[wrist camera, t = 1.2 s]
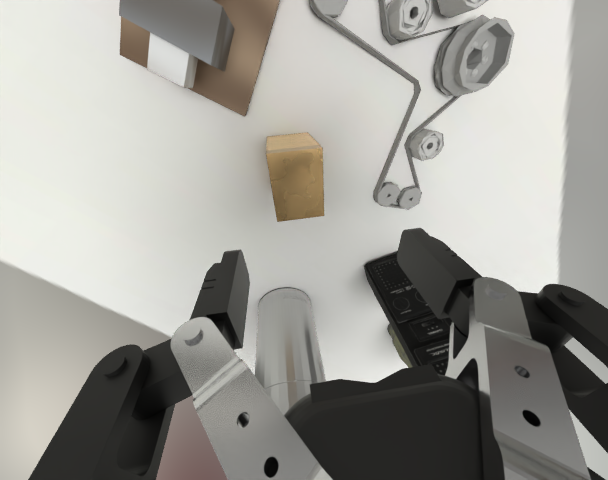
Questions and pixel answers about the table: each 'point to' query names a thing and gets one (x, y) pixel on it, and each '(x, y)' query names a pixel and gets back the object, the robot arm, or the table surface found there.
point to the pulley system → (448, 70)
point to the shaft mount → (200, 43)
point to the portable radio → (410, 315)
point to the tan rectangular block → (296, 176)
